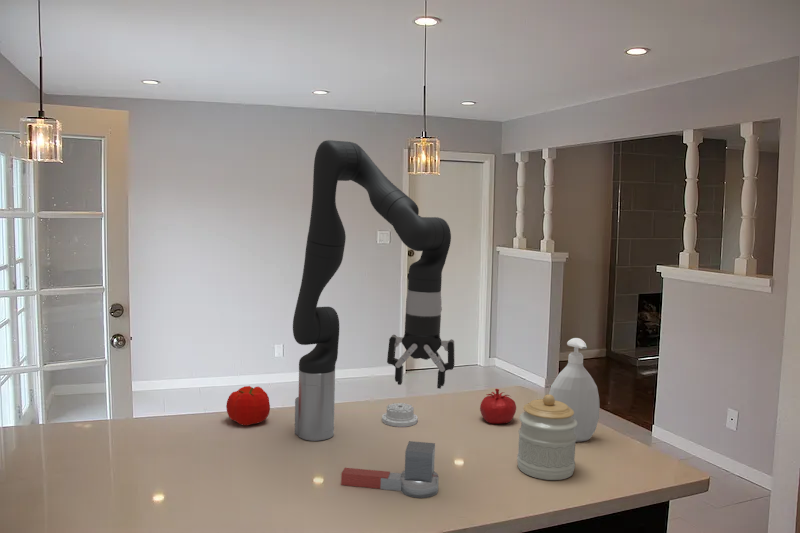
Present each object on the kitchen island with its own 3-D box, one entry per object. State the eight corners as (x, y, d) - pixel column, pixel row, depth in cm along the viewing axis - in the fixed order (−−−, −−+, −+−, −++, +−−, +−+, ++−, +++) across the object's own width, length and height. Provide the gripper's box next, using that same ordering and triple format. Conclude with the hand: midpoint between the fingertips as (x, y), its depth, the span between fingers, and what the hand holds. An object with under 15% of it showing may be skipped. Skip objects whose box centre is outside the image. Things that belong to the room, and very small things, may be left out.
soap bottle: (552, 447, 159) (557, 342, 156) (540, 435, 167) (545, 335, 164) (605, 445, 161) (612, 341, 159) (591, 434, 169) (597, 335, 167)
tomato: (235, 414, 177) (235, 382, 176) (276, 417, 175) (276, 385, 174) (219, 426, 166) (219, 393, 165) (262, 430, 165) (263, 396, 164)
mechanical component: (378, 425, 171) (413, 429, 169) (378, 410, 171) (414, 413, 169) (386, 414, 181) (420, 417, 179) (386, 399, 181) (421, 402, 179)
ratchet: (439, 483, 136) (440, 451, 135) (436, 499, 128) (437, 466, 127) (347, 474, 139) (347, 443, 138) (338, 490, 131) (339, 457, 130)
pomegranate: (517, 428, 173) (520, 395, 172) (481, 426, 173) (483, 393, 172) (511, 415, 183) (514, 384, 182) (477, 413, 183) (479, 382, 182)
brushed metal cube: (404, 479, 130) (405, 450, 129) (408, 468, 136) (409, 441, 135) (431, 482, 129) (432, 453, 129) (434, 471, 135) (435, 443, 134)
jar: (576, 463, 149) (580, 390, 147) (572, 485, 137) (577, 406, 135) (521, 454, 153) (524, 384, 152) (512, 475, 141) (516, 398, 139)
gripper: (387, 312, 131) (383, 387, 132) (455, 317, 128) (451, 394, 130) (393, 306, 138) (390, 378, 140) (458, 310, 136) (454, 383, 138)
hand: (419, 385), depth 135 cm, fingers open, 8 cm apart
